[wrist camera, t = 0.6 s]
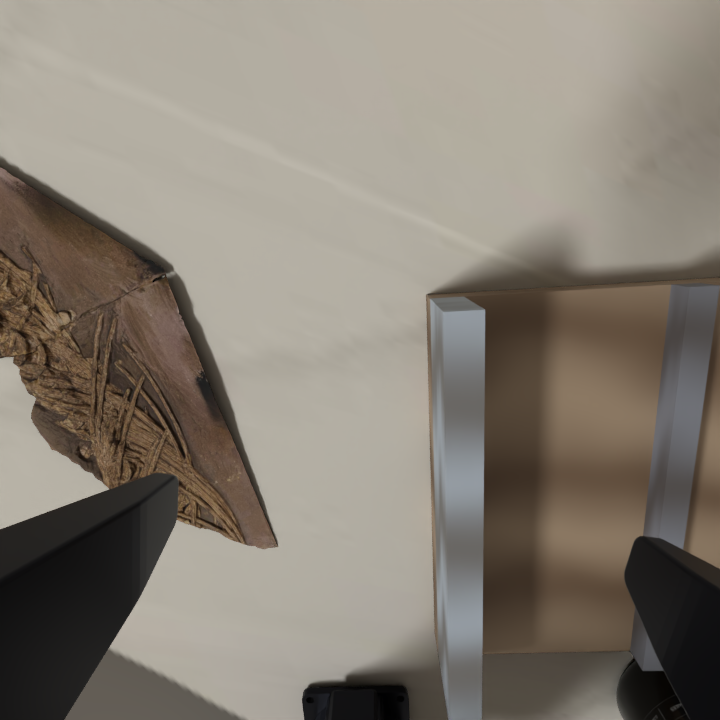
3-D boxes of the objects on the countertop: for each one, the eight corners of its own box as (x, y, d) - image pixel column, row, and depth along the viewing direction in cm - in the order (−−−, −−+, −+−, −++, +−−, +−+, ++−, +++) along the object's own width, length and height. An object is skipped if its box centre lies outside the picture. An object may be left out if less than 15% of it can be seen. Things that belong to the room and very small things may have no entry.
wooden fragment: (-139, 201, 22) (-165, 199, 20) (30, 65, 20) (12, 56, 19) (180, 590, 27) (173, 604, 26) (335, 510, 25) (334, 521, 24)
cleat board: (713, 625, 26) (801, 725, 21) (434, 632, 27) (449, 730, 21) (772, 274, 21) (909, 285, 15) (426, 294, 22) (443, 311, 16)
